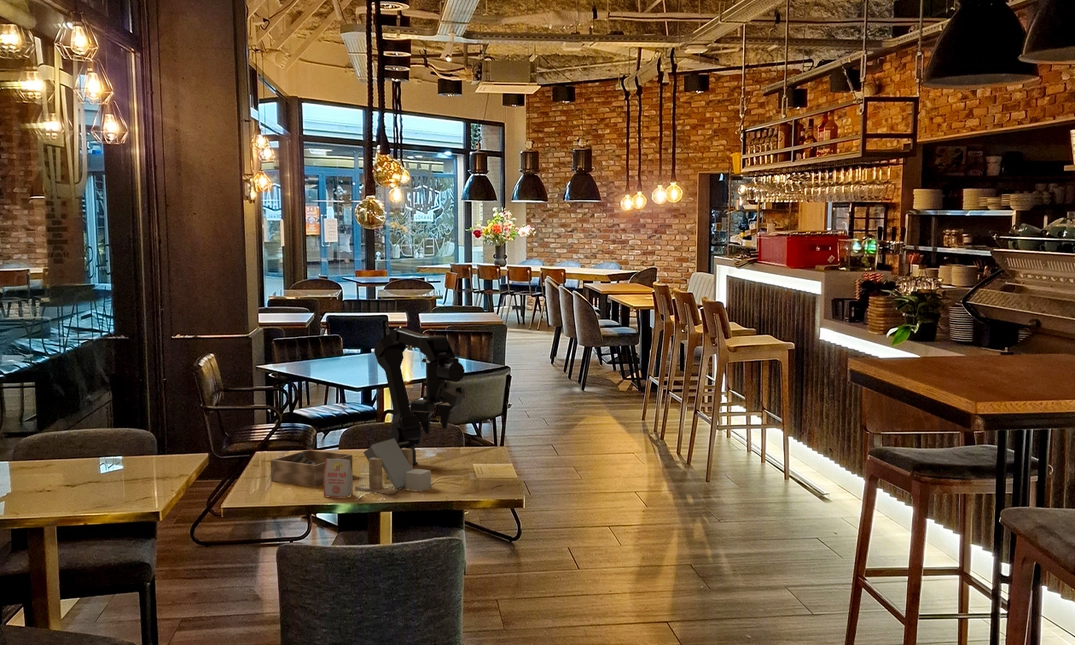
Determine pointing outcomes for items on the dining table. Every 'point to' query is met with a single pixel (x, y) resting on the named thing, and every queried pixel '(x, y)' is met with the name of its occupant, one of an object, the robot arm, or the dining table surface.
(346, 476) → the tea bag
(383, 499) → the dining table surface
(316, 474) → the open wooden box
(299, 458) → the chocolate cake
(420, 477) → the pale grey cube
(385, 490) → the stand
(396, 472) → the dark grey slab
